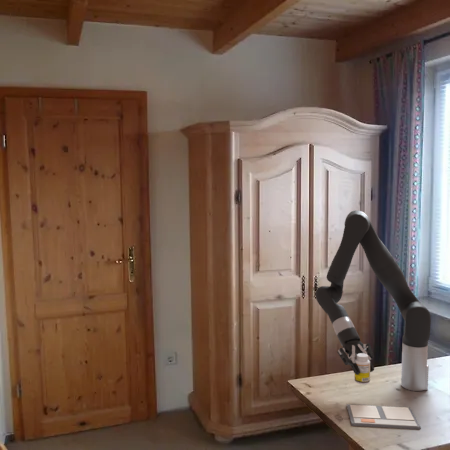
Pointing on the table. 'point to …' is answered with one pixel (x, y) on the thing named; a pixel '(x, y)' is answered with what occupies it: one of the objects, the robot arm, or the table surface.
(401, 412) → the board
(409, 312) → the robot arm
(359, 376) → the supplement bottle
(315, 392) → the table surface
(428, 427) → the table surface
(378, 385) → the table surface
